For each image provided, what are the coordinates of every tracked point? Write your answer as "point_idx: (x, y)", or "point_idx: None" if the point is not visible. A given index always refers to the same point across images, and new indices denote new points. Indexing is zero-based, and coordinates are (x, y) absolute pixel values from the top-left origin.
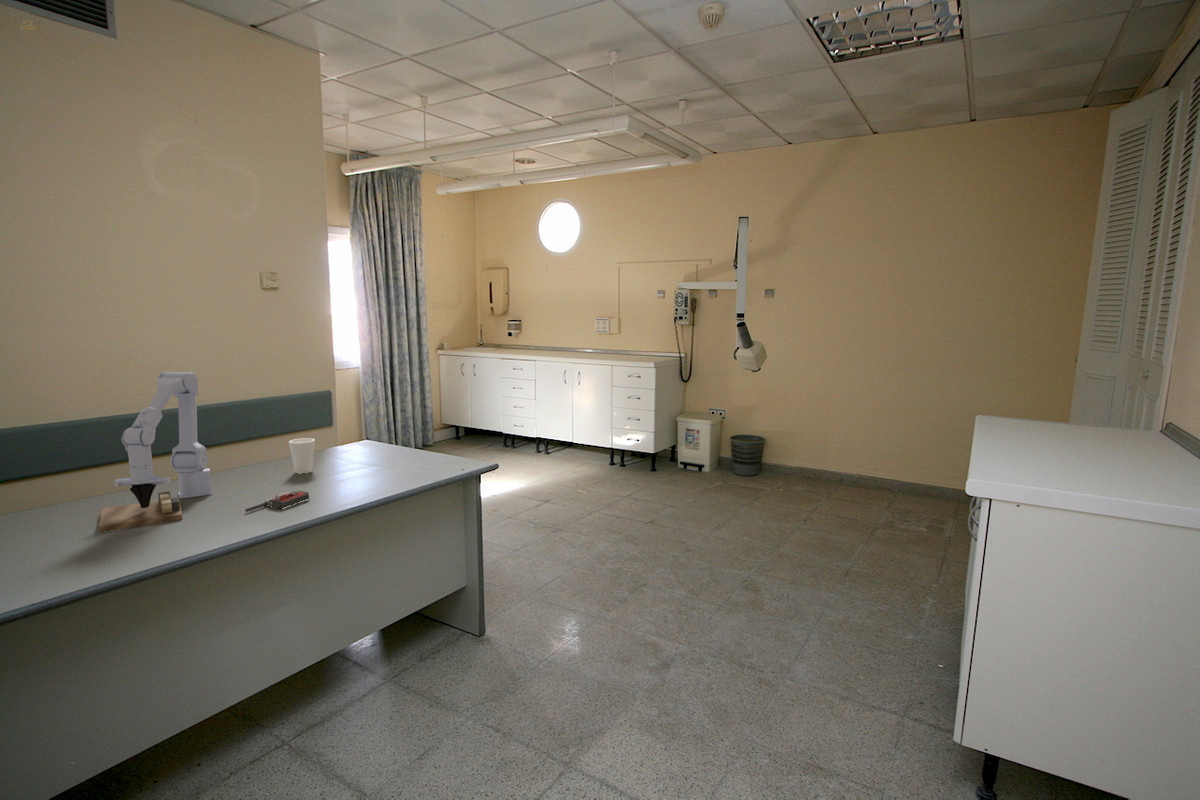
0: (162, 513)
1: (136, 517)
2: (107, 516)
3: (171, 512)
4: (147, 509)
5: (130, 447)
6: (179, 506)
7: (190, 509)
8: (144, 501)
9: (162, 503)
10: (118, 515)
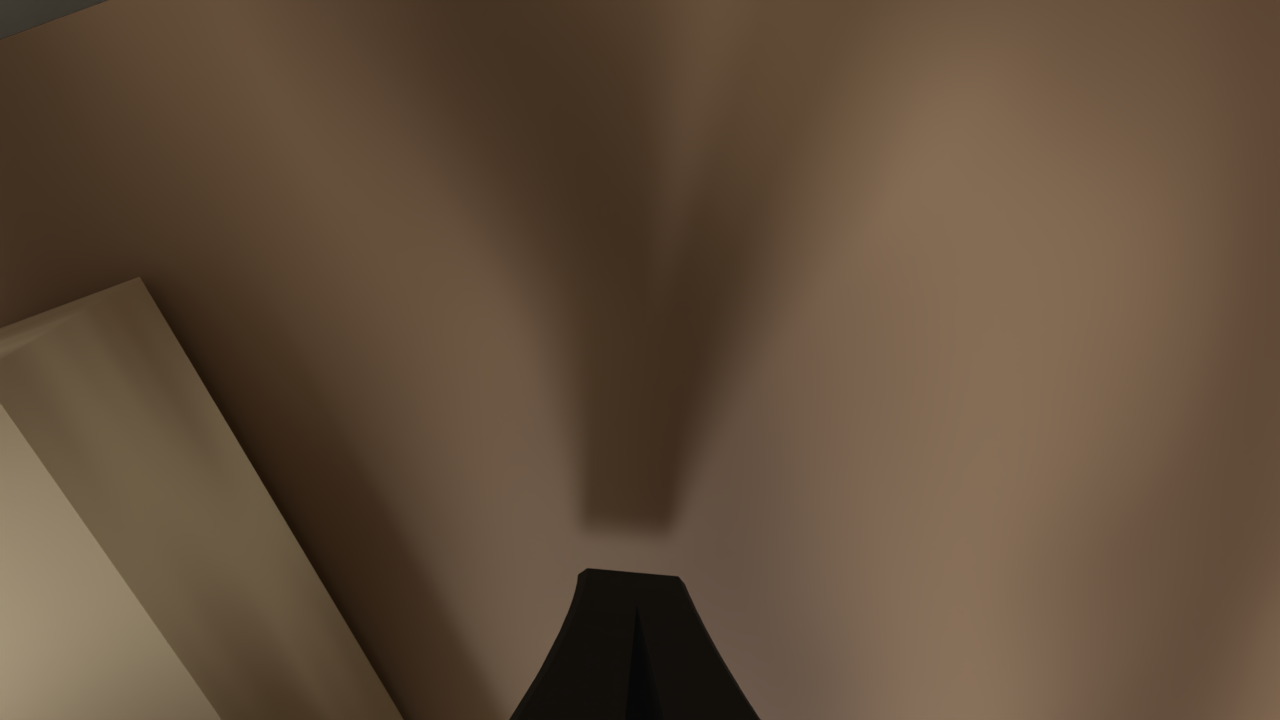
0: (194, 334)
1: (662, 179)
2: (1271, 425)
3: None
4: None
5: None
6: None
7: None
8: (578, 657)
9: (2, 434)
10: (1075, 433)
